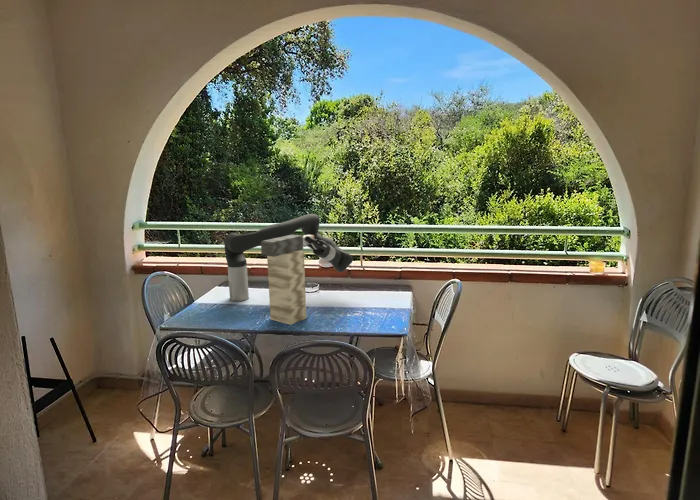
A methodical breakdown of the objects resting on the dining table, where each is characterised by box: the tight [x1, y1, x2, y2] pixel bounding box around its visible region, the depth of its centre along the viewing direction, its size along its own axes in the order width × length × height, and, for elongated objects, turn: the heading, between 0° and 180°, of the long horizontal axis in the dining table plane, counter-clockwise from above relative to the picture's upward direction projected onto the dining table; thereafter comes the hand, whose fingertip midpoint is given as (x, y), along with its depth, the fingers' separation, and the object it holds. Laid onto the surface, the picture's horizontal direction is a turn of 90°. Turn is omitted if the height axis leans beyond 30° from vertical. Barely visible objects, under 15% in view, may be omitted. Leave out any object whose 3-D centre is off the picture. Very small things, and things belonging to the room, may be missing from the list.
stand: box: [260, 234, 307, 326], centre depth 193 cm, size 19×12×36 cm, turn 144°
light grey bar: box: [302, 234, 314, 247], centre depth 195 cm, size 24×4×4 cm, turn 144°
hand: (302, 237), depth 200 cm, fingers closed on light grey bar, 3 cm apart
